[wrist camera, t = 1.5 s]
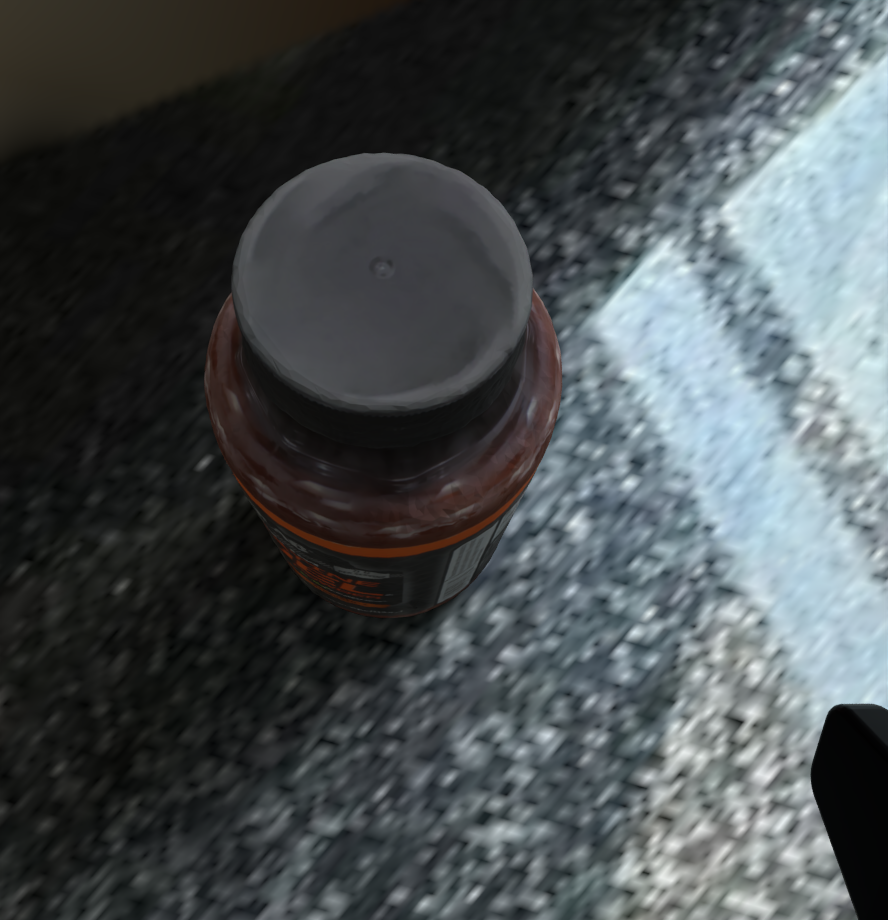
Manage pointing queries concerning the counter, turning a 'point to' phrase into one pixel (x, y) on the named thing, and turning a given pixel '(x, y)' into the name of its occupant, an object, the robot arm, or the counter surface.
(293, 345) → the supplement bottle
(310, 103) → the counter surface
